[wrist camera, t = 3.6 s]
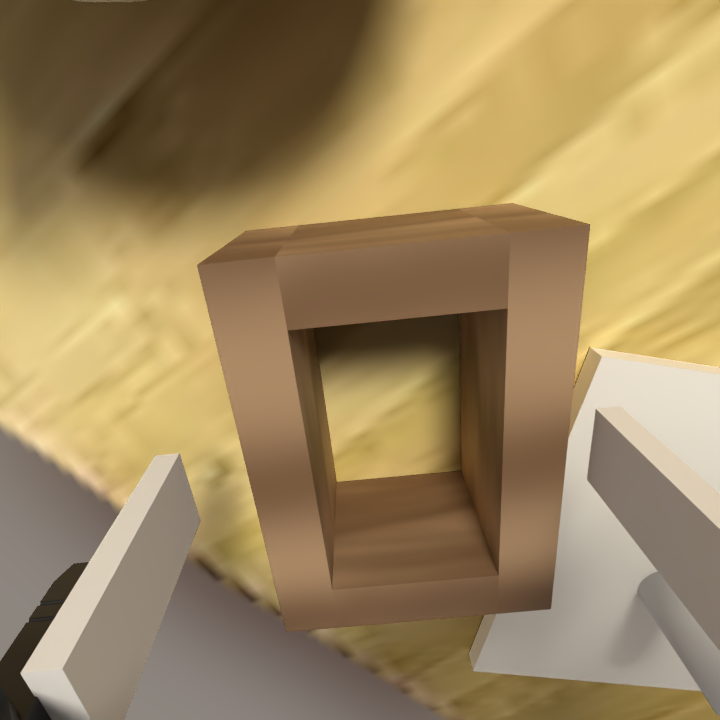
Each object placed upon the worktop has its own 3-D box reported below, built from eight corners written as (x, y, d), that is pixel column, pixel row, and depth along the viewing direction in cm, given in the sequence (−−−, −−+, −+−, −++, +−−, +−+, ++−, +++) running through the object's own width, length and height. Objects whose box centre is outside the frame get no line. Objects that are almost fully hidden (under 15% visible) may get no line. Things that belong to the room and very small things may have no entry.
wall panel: (589, 347, 19) (696, 430, 13) (923, 397, 21) (1154, 494, 15) (468, 654, 27) (502, 792, 21) (716, 676, 29) (811, 812, 23)
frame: (245, 230, 17) (196, 265, 12) (512, 203, 17) (590, 224, 11) (301, 518, 23) (286, 631, 17) (502, 499, 23) (551, 609, 17)
